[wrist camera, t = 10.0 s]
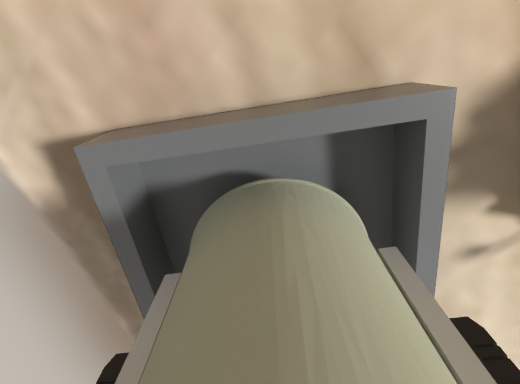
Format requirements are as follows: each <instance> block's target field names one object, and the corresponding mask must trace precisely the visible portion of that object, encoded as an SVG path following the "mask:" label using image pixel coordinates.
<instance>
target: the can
mask: <svg viewBox="0 0 520 384" xmlns="http://www.w3.org/2000/svg"><path fill="white" fill-rule="evenodd" d="M139 384H457V383H456V381H455V379H454V378H453V376H452V375H451V373H450V371H449V370H448V368H447V367H446V365H445V363H444V362H443V360H442V359H441V357H440V355H439V354H438V352H437V350H436V349H435V347H434V346H433V344H432V342H431V341H430V339H429V338H428V336H427V334H426V333H425V331H424V330H423V328H422V326H421V325H420V323H419V321H418V320H417V318H416V316H415V315H414V313H413V311H412V310H411V308H410V307H409V305H408V303H407V302H406V300H405V298H404V297H403V295H402V293H401V292H400V290H399V289H398V287H397V285H396V284H395V282H394V280H393V279H392V277H391V275H390V274H389V272H388V270H387V269H386V267H385V266H384V264H383V262H382V260H381V259H380V257H379V255H378V254H377V252H376V250H375V248H374V247H373V245H372V243H371V242H370V240H369V238H368V234H367V231H366V229H365V226H364V224H363V222H362V220H361V218H360V217H359V215H358V214H357V212H356V211H355V210H354V208H353V207H352V206H351V205H350V204H349V203H348V202H347V201H346V200H345V199H343V198H342V197H341V196H339V195H338V194H336V193H335V192H333V191H332V190H330V189H328V188H326V187H324V186H321V185H319V184H316V183H313V182H310V181H307V180H302V179H297V178H287V177H279V178H266V179H261V180H256V181H253V182H249V183H246V184H243V185H241V186H239V187H237V188H234V189H233V190H231V191H229V192H227V193H226V194H224V195H223V196H221V197H220V198H219V199H217V200H216V201H215V202H214V203H213V204H212V205H211V206H210V207H209V208H208V209H207V210H206V211H205V213H204V214H203V215H202V217H201V218H200V220H199V222H198V224H197V226H196V228H195V230H194V233H193V235H192V239H191V244H190V252H189V255H188V258H187V260H186V263H185V266H184V269H183V271H182V274H181V277H180V279H179V282H178V285H177V287H176V290H175V293H174V295H173V298H172V300H171V303H170V305H169V308H168V310H167V313H166V316H165V318H164V321H163V323H162V326H161V328H160V331H159V334H158V336H157V339H156V341H155V344H154V346H153V349H152V351H151V354H150V357H149V359H148V362H147V364H146V367H145V369H144V372H143V374H142V377H141V379H140V382H139Z"/></svg>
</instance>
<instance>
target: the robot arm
mask: <svg viewBox="0 0 520 384" xmlns="http://www.w3.org/2000/svg"><path fill="white" fill-rule="evenodd" d="M378 255H379V257H380V259H381V260H382V262H383V264H384V266H385V267H386V269H387V270H388V272H389V274H390V275H391V277H392V279H393V280H394V282H395V284H396V285H397V287H398V289H399V290H400V292H401V293H402V295H403V297H404V298H405V300H406V302H407V303H408V305H409V307H410V308H411V310H412V311H413V313H414V315H415V316H416V318H417V320H418V321H419V323H420V325H421V326H422V328H423V330H424V331H425V333H426V334H427V336H428V338H429V339H430V341H431V342H432V344H433V346H434V347H435V349H436V350H437V352H438V354H439V355H440V357H441V359H442V360H443V362H444V363H445V365H446V367H447V368H448V370H449V371H450V373H451V375H452V376H453V378H454V379H455V381H456V383H457V384H520V370H519V369H518V368H517V367H516V366H515V364H514V363H513V362H512V361H511V360H510V359H508V358H507V355H506V354H505V353H504V351H503V350H502V349H501V348H500V347H499V346H497V343H496V342H495V341H494V339H493V338H492V337H491V336H490V335H489V334H488V332H487V331H486V330H485V329H484V328H483V327H481V326H480V325H479V324H477V323H476V322H474V321H473V320H472V319H470V318H469V317H458V318H448V316H447V315H446V314H445V312H444V311H443V310H442V308H441V307H440V306H439V304H438V303H437V301H436V300H435V299H434V297H433V296H432V295H431V293H430V292H429V291H428V289H427V288H426V286H425V285H424V284H423V282H422V281H421V280H420V278H419V277H418V276H417V274H416V273H415V272H414V270H413V269H412V267H411V266H410V265H409V263H408V262H407V261H406V259H405V258H404V257H403V255H402V254H401V253H400V251H399V250H398V248H397V247H388V248H380V249H378ZM181 274H182V273H174V274H166V275H165V276H164V278H163V281H162V283H161V285H160V287H159V289H158V291H157V294H156V296H155V298H154V300H153V302H152V304H151V306H150V309H149V311H148V313H147V315H146V317H145V319H144V322H143V324H142V326H141V328H140V330H139V332H138V334H137V337H136V339H135V341H134V343H133V345H132V348H131V350H130V352H129V353H120V354H116V355H115V356H114V357H113V358H112V359H111V361H110V362H109V363H108V364H107V365H106V366H105V367H104V369H103V371H102V373H101V375H100V377H99V379H98V380H97V383H96V384H139V382H140V379H141V377H142V374H143V372H144V369H145V367H146V364H147V362H148V359H149V357H150V354H151V351H152V349H153V346H154V344H155V341H156V339H157V336H158V334H159V331H160V328H161V326H162V323H163V321H164V318H165V316H166V313H167V310H168V308H169V305H170V303H171V300H172V298H173V295H174V293H175V290H176V287H177V285H178V282H179V279H180V277H181Z"/></svg>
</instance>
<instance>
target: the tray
mask: <svg viewBox="0 0 520 384" xmlns="http://www.w3.org/2000/svg"><path fill="white" fill-rule="evenodd" d="M456 91H457V88H456V87H447V86H439V85H430V84H421V83H413V82H412V83H405V84H399V85H393V86H387V87H380V88H374V89H368V90H361V91H355V92H349V93H342V94H336V95H330V96H323V97H317V98H311V99H305V100H298V101H292V102H286V103H279V104H273V105H267V106H260V107H254V108H248V109H241V110H235V111H229V112H222V113H216V114H210V115H204V116H197V117H191V118H185V119H178V120H172V121H166V122H159V123H153V124H147V125H140V126H134V127H128V128H121V129H115V130H112V131H109V132H107V133H105V134H102V135H100V136H98V137H95V138H93V139H91V140H88V141H86V142H84V143H82V144H79V145H77V146H75V147H72V148H73V150H74V152H75V155H76V157H77V160H78V162H79V164H80V167H81V169H82V171H83V174H84V176H85V179H86V181H87V183H88V186H89V188H90V191H91V193H92V195H93V198H94V200H95V203H96V205H97V207H98V210H99V212H100V214H101V217H102V219H103V222H104V224H105V226H106V229H107V231H108V234H109V236H110V238H111V241H112V243H113V246H114V248H115V250H116V253H117V255H118V257H119V260H120V262H121V265H122V267H123V269H124V272H125V274H126V277H127V279H128V281H129V284H130V286H131V288H132V291H133V293H134V296H135V298H136V300H137V303H138V305H139V308H140V310H141V312H142V315H143V317H144V319H145V317H146V315H147V313H148V311H149V309H150V306H151V304H152V302H153V300H154V298H155V296H156V294H157V291H158V289H159V287H160V285H161V283H162V281H163V278H164V276H165V275H166V274H174V273H182V271H183V269H184V266H185V263H186V260H187V258H188V255H189V252H190V244H191V239H192V235H193V233H194V230H195V228H196V226H197V224H198V222H199V220H200V218H201V217H202V215H203V214H204V213H205V211H206V210H207V209H208V208H209V207H210V206H211V205H212V204H213V203H214V202H215V201H216V200H217V199H219V198H220V197H221V196H223V195H224V194H226V193H227V192H229V191H231V190H233V189H234V188H237V187H239V186H241V185H243V184H246V183H249V182H253V181H256V180H261V179H266V178H279V177H287V178H297V179H302V180H307V181H310V182H313V183H316V184H319V185H321V186H324V187H326V188H328V189H330V190H332V191H333V192H335V193H336V194H338V195H339V196H341V197H342V198H343V199H345V200H346V201H347V202H348V203H349V204H350V205H351V206H352V207H353V208H354V210H355V211H356V212H357V214H358V215H359V217H360V218H361V220H362V222H363V224H364V226H365V229H366V231H367V234H368V238H369V240H370V242H371V243H372V245H373V247H374V248H375V250H376V252H377V254H378V249H380V248H388V247H397V248H398V250H399V251H400V253H401V254H402V255H403V257H404V258H405V259H406V261H407V262H408V263H409V265H410V266H411V267H412V269H413V270H414V272H415V273H416V274H417V276H418V277H419V278H420V280H421V281H422V282H423V284H424V285H425V286H426V288H427V289H428V291H429V292H430V293H431V295H432V296H433V297H434V295H435V286H436V277H437V268H438V258H439V249H440V240H441V230H442V221H443V212H444V202H445V193H446V184H447V174H448V165H449V156H450V147H451V137H452V128H453V119H454V109H455V100H456Z"/></svg>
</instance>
